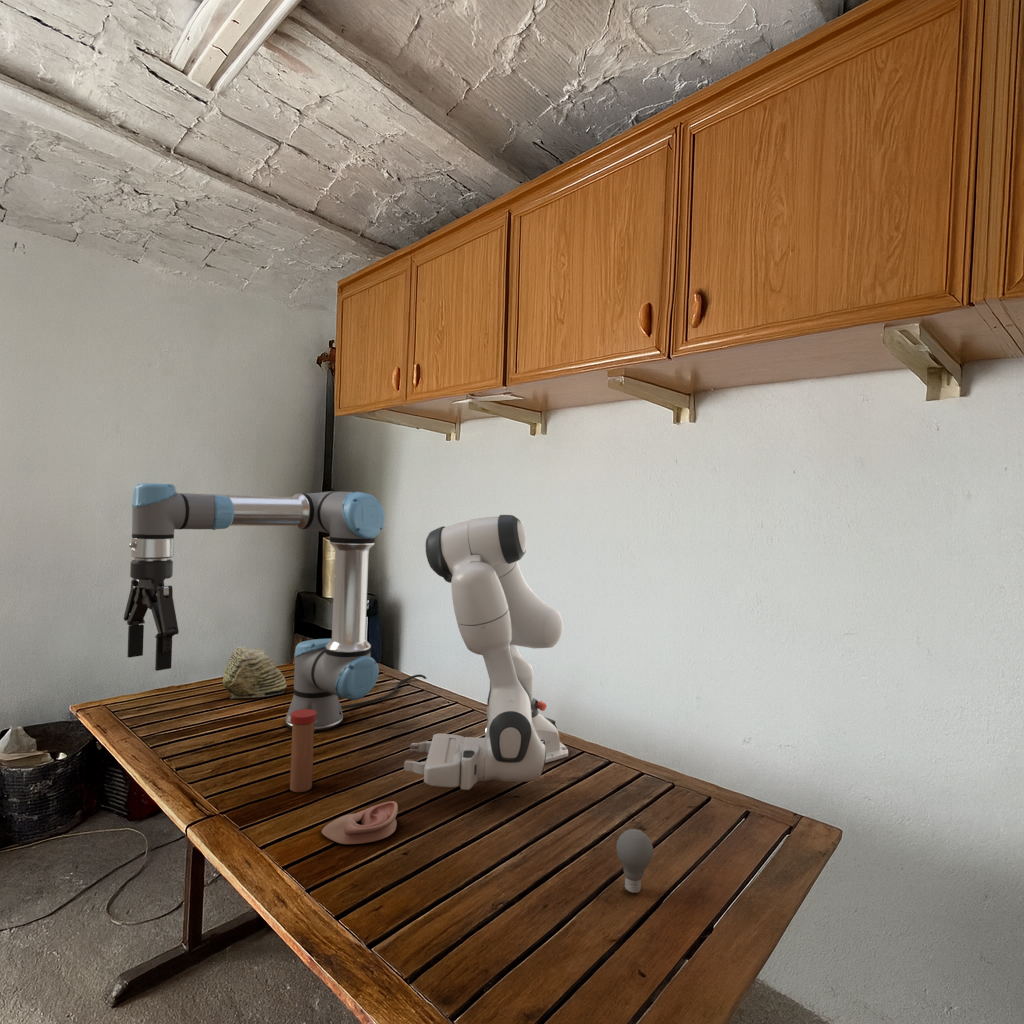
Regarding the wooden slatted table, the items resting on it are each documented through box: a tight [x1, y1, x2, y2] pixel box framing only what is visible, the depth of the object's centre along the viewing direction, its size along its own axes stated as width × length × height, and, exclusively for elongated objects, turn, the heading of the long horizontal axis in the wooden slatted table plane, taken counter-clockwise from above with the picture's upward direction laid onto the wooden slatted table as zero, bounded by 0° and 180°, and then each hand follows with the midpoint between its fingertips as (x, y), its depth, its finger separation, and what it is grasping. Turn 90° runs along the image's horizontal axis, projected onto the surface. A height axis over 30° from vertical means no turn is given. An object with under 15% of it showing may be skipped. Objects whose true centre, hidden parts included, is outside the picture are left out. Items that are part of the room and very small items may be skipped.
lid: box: [291, 709, 317, 725], centre depth 137 cm, size 5×5×2 cm
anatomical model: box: [321, 800, 399, 845], centre depth 121 cm, size 13×4×12 cm
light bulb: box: [615, 828, 654, 894], centre depth 106 cm, size 6×6×10 cm
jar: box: [289, 722, 315, 793], centre depth 137 cm, size 5×5×16 cm
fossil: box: [222, 646, 288, 699], centre depth 198 cm, size 9×18×15 cm, turn 132°
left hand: (148, 662), depth 129 cm, fingers open, 13 cm apart
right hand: (407, 756), depth 138 cm, fingers open, 8 cm apart
